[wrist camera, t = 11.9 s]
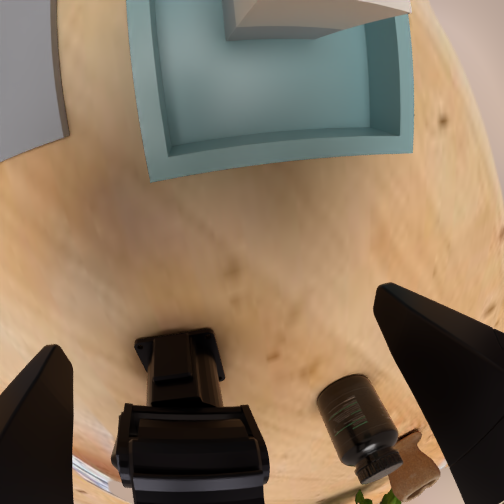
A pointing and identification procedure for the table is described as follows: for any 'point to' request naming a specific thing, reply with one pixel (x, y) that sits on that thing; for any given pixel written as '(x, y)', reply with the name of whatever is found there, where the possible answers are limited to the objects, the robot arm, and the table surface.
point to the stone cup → (412, 470)
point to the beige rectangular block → (303, 17)
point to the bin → (264, 91)
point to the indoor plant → (389, 500)
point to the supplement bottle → (360, 428)
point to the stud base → (29, 77)
